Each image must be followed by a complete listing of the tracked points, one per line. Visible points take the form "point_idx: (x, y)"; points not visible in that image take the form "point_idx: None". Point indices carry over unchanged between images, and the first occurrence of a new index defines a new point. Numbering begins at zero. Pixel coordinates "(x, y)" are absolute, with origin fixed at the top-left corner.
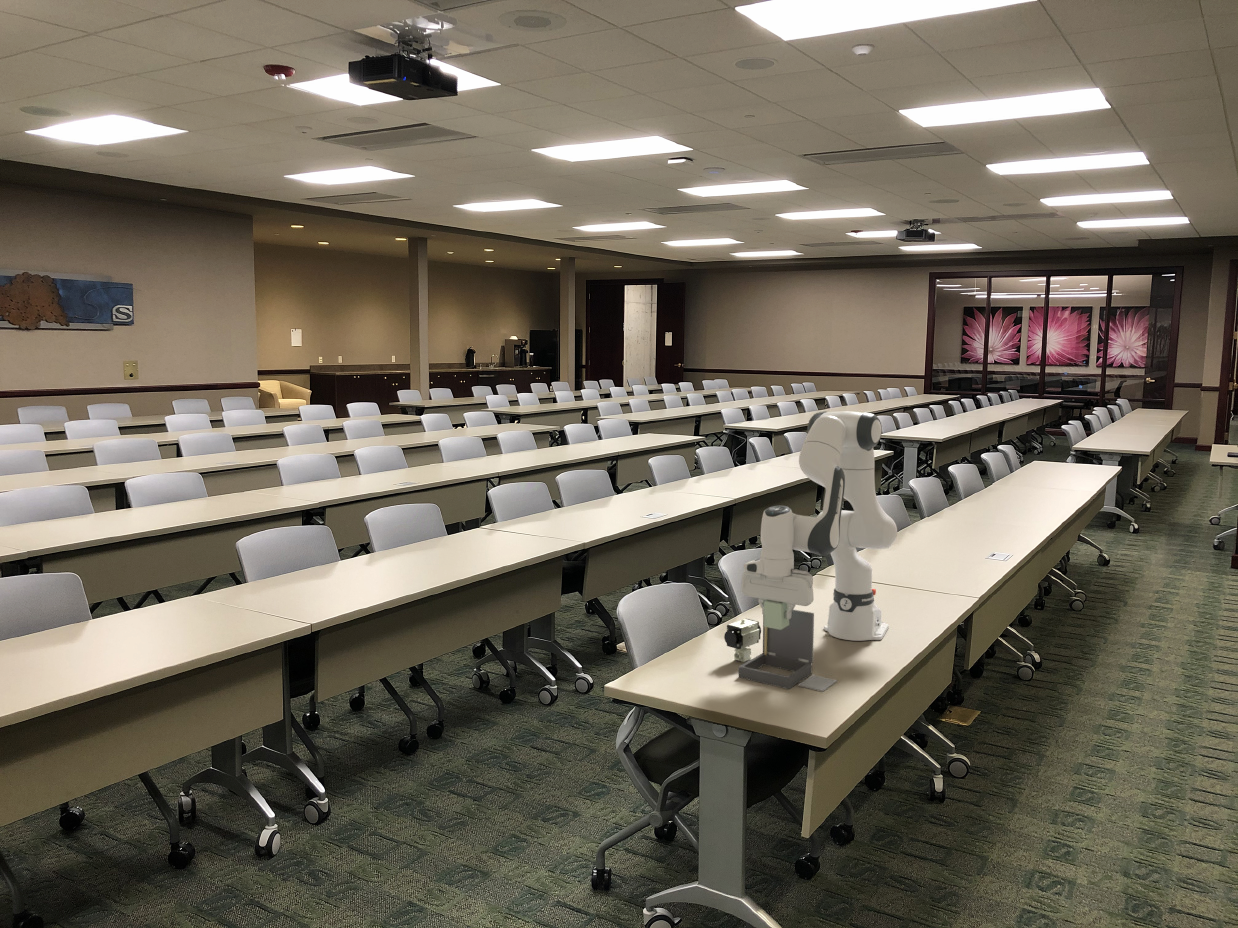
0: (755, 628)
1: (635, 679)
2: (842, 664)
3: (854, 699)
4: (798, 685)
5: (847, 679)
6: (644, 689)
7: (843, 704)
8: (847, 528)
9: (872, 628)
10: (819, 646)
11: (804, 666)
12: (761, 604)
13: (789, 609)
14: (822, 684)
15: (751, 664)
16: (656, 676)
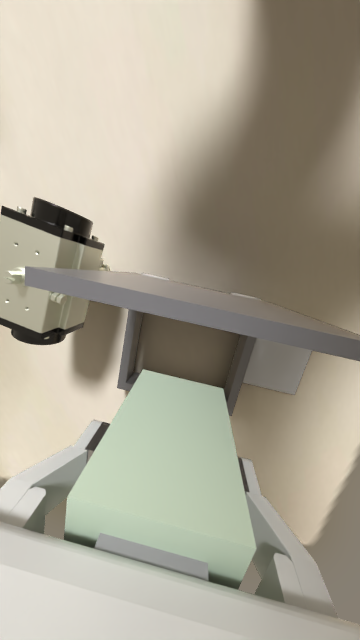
0: (72, 254)
1: None
2: (325, 205)
3: (356, 410)
4: (242, 381)
5: (341, 309)
6: (21, 467)
7: (335, 437)
8: None
9: None
10: (246, 60)
11: (251, 337)
12: (48, 507)
13: (263, 566)
14: (290, 366)
15: (132, 348)
16: (6, 416)
